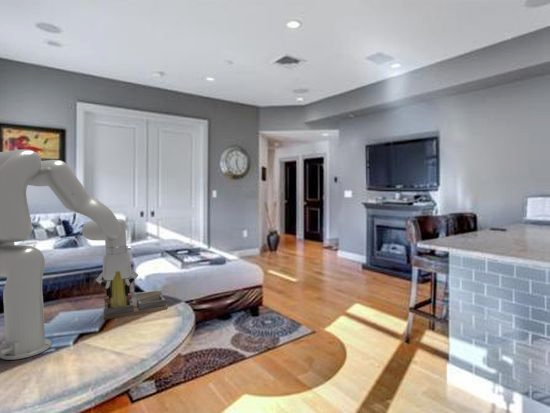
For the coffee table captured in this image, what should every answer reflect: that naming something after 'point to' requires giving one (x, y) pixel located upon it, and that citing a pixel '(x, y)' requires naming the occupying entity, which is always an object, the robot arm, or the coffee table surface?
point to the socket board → (136, 305)
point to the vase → (118, 291)
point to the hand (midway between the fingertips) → (118, 296)
